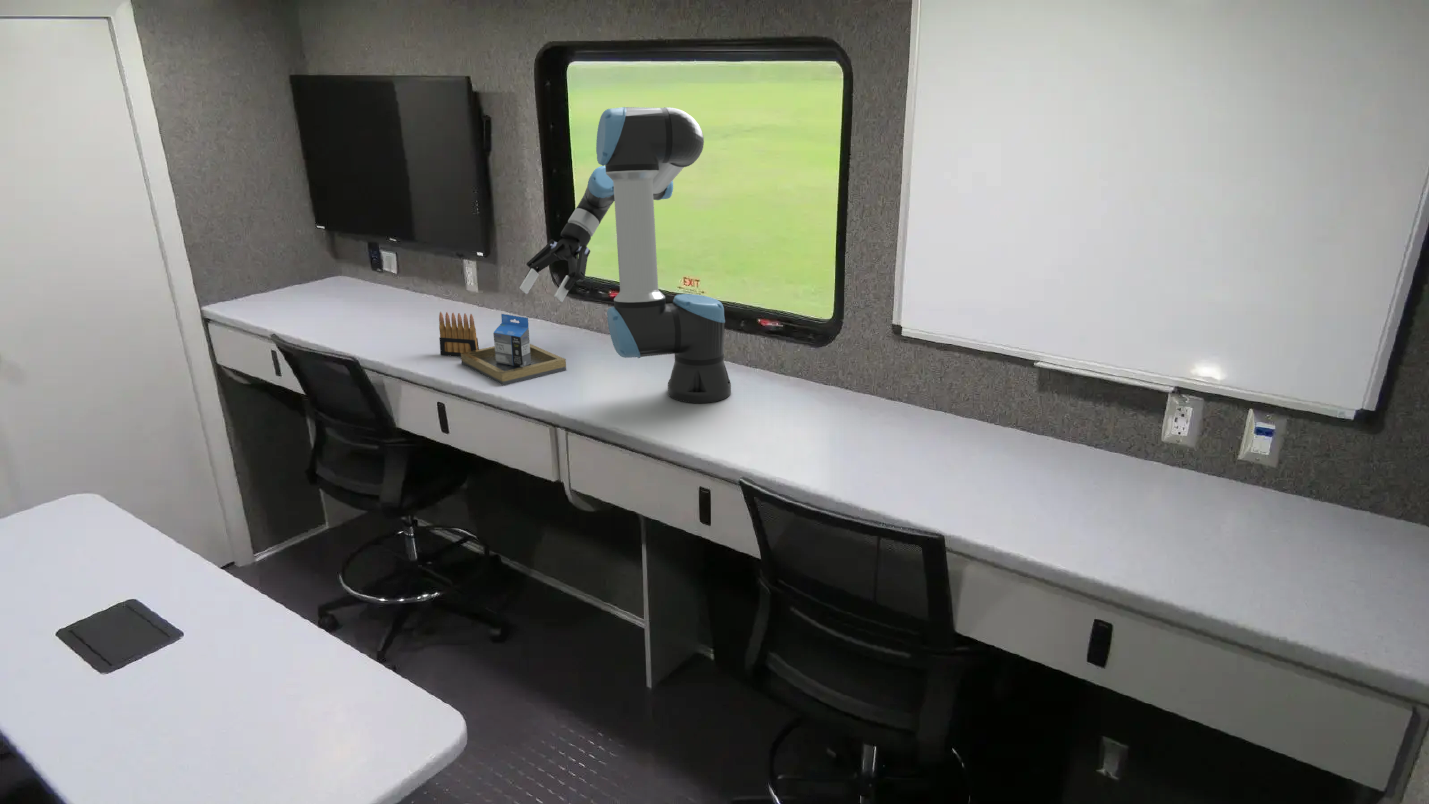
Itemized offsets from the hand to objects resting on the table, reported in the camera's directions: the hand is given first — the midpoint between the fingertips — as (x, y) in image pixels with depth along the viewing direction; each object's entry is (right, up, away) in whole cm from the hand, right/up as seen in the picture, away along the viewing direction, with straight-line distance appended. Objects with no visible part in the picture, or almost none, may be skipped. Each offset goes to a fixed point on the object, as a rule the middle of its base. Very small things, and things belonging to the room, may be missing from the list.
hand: (540, 295), depth 222 cm
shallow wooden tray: (-7, -19, -2) cm, 20 cm away
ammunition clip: (-23, -16, +7) cm, 29 cm away
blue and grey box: (-6, -18, -2) cm, 19 cm away
